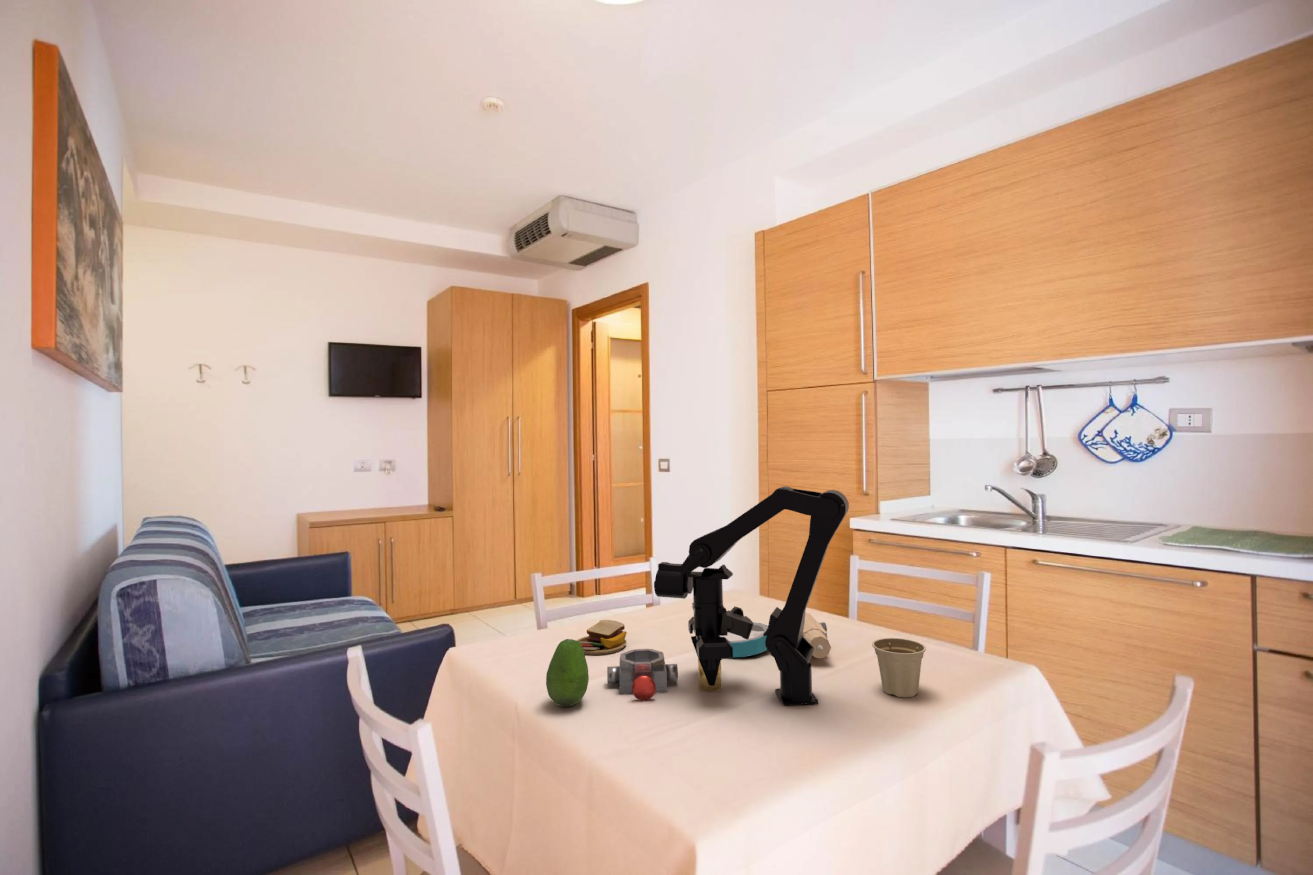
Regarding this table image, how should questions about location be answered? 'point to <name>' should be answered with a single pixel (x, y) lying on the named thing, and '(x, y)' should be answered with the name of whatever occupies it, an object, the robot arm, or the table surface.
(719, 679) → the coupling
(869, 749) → the table surface
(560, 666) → the avocado
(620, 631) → the toy sandwich meal
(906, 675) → the flower pot
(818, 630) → the butterfly valve
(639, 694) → the valve
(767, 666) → the table surface
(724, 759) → the table surface
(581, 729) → the table surface
